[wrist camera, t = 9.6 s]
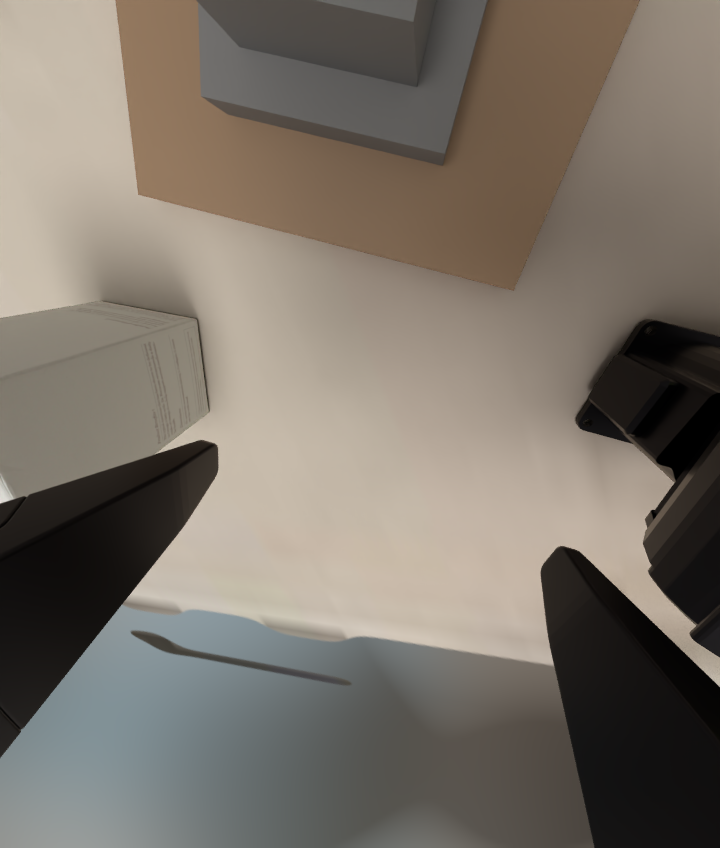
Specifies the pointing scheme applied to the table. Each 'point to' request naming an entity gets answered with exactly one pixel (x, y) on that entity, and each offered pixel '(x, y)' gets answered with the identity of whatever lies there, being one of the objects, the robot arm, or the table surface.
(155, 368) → the supplement box
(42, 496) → the robot arm
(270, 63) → the tan base plate
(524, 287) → the table surface
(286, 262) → the table surface
